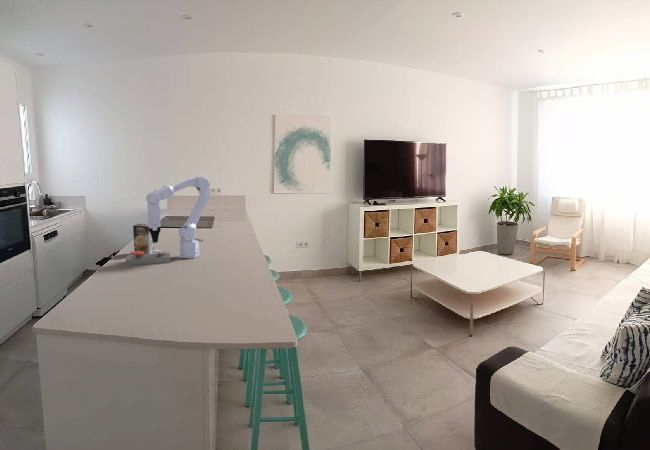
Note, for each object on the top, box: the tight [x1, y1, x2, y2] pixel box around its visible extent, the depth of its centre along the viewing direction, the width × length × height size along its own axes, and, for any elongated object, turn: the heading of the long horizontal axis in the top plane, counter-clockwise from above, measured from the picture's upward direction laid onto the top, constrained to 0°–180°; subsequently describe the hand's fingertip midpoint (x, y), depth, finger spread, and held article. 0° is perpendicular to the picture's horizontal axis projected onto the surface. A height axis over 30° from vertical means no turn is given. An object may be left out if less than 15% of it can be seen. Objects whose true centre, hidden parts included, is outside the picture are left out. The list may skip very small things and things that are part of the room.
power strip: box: [125, 252, 171, 266], centre depth 203 cm, size 20×9×3 cm, turn 114°
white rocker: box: [152, 249, 166, 254], centre depth 206 cm, size 6×3×1 cm, turn 114°
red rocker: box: [130, 250, 144, 255], centre depth 202 cm, size 6×3×1 cm, turn 114°
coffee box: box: [132, 223, 156, 254], centre depth 219 cm, size 9×6×16 cm
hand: (155, 242), depth 205 cm, fingers closed
